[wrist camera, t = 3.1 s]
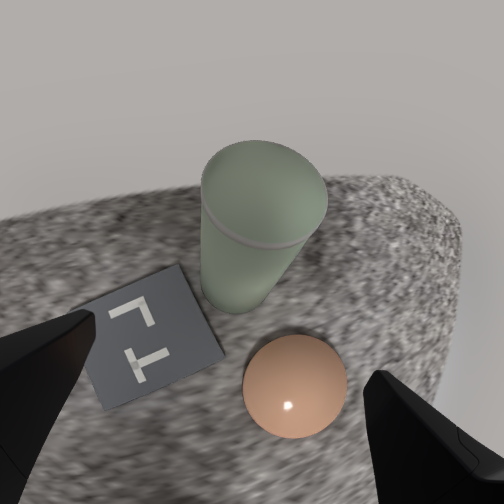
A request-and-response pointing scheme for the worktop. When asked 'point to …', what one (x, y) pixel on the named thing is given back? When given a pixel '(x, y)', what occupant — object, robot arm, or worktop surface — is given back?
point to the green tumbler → (255, 220)
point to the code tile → (147, 338)
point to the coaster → (294, 386)
